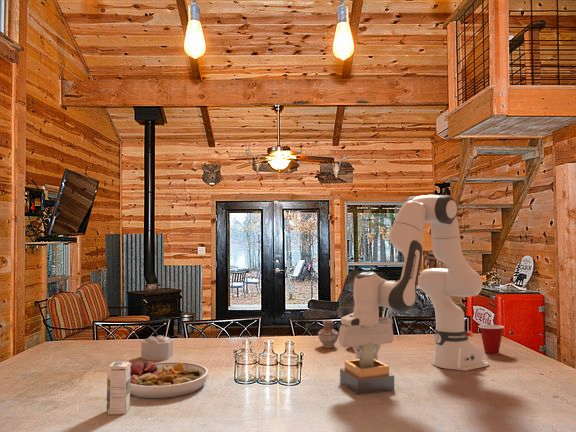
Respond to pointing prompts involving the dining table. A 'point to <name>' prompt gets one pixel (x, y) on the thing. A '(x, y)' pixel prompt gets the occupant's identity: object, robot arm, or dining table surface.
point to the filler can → (367, 355)
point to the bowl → (166, 379)
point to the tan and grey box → (366, 377)
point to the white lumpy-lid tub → (157, 348)
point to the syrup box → (118, 388)
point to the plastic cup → (491, 337)
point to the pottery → (328, 334)
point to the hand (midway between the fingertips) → (366, 357)
